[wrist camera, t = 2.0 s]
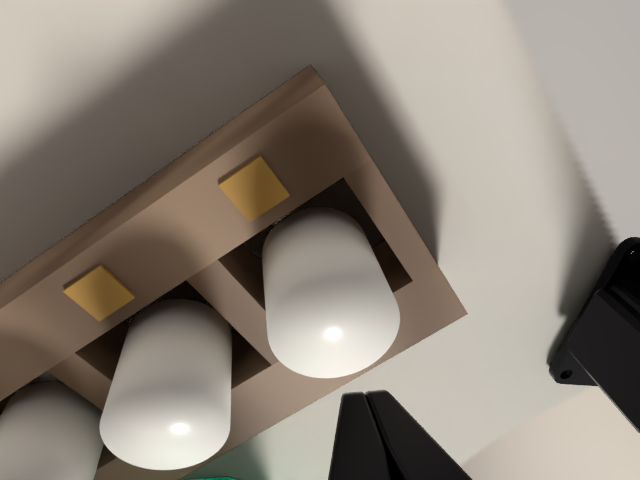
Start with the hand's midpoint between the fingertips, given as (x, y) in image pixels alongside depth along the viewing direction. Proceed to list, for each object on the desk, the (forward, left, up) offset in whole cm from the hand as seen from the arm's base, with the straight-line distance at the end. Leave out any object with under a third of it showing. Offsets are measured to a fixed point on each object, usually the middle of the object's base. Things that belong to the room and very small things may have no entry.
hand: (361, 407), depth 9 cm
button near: (0, 0, -6) cm, 5 cm away
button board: (+4, +3, -7) cm, 9 cm away
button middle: (+4, +3, -5) cm, 7 cm away
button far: (+7, +7, -5) cm, 11 cm away
